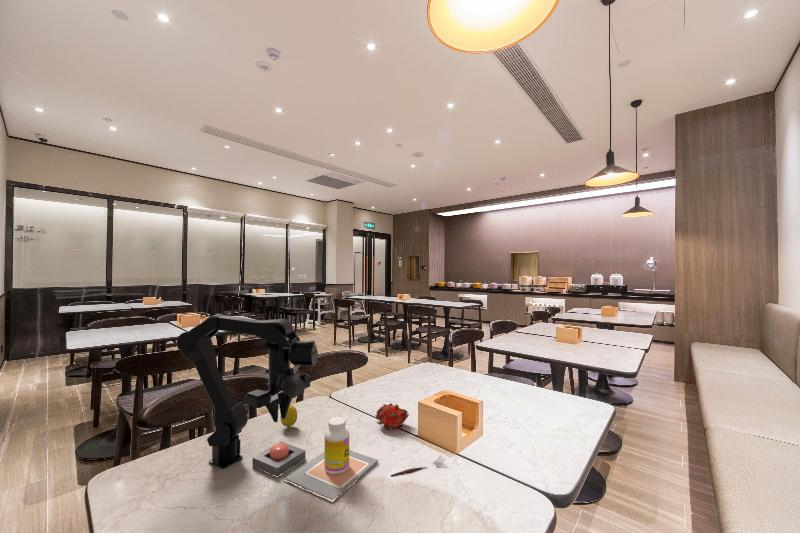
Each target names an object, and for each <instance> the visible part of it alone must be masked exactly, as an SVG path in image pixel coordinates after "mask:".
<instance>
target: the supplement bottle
mask: <svg viewBox="0 0 800 533" xmlns="http://www.w3.org/2000/svg"><path fill="white" fill-rule="evenodd" d="M327 422H328V424H327V427H328V428H327V429H326V431H325V432H324V452H325V455H324V468H325V471H326V472H327V473H329V474H341V473H343V472H345V471H346V470H347V469H348V468H349V450H350V430H349V429H348V427H346V425H347V420H346V418H345V417H341V416H336V417H332V418H330V419H329V420H328V421H327Z"/></svg>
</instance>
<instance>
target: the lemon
mask: <svg viewBox="0 0 800 533" xmlns="http://www.w3.org/2000/svg"><path fill="white" fill-rule="evenodd" d="M297 419H298V411H297V408H296V406H294V405H293V404H290V405H289V408H288V411H287V414H286V417H285V419H282V418H281V415H280V423H281V424H282V425H283V426H284V427H285V428H288V429H290V428H291V427H292V426H294V425H295V424H296V422H297Z"/></svg>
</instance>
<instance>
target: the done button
mask: <svg viewBox="0 0 800 533" xmlns="http://www.w3.org/2000/svg"><path fill="white" fill-rule="evenodd" d="M278 443H279V442H278ZM278 443H275V444H274V445H272V446H271V448H270V447H269V448H270V459H272V460H274V461H277V462H279V461H281V460H283V459H284V458H286V457H287V456H289V445H288V444H289V443H287V444H285V443H286V442H284V443H279V444H278Z"/></svg>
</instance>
